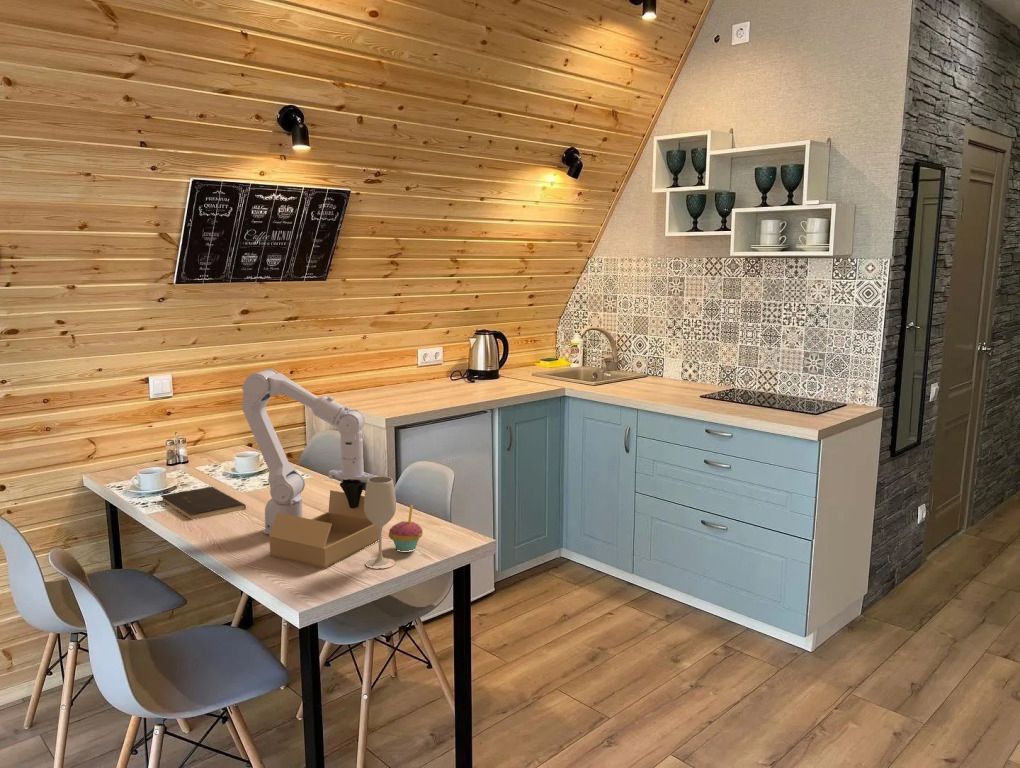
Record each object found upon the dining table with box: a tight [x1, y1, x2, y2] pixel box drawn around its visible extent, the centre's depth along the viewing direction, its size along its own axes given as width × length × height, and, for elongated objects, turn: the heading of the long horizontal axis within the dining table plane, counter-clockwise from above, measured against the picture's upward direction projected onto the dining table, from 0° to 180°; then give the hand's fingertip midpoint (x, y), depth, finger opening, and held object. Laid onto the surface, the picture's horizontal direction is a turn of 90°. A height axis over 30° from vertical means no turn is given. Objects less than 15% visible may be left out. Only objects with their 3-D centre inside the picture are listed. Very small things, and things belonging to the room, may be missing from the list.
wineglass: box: [364, 475, 397, 567], centre depth 187 cm, size 8×8×21 cm
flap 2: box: [328, 489, 369, 520], centre depth 207 cm, size 17×6×1 cm
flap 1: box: [268, 512, 332, 549], centre depth 188 cm, size 17×6×1 cm
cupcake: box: [388, 503, 424, 551], centre depth 197 cm, size 9×8×12 cm
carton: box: [269, 511, 379, 570], centre depth 198 cm, size 17×22×5 cm
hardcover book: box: [160, 486, 247, 520], centre depth 230 cm, size 16×23×2 cm
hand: (353, 507), depth 206 cm, fingers closed, pressing on flap 2
